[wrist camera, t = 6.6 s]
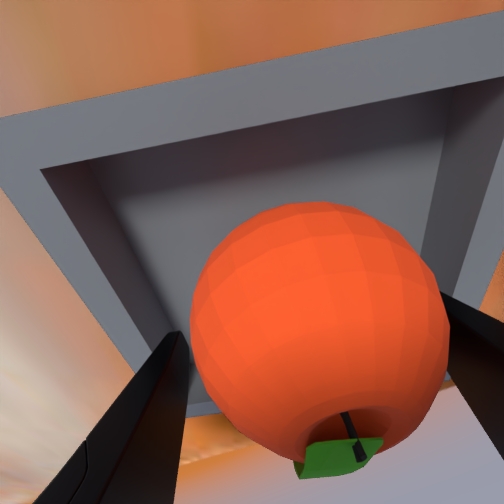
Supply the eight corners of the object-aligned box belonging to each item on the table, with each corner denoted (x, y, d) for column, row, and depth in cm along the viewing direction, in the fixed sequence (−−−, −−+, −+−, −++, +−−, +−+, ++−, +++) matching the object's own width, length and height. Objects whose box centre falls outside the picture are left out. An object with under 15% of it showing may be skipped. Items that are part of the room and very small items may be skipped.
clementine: (335, 331, 14) (424, 520, 8) (198, 332, 13) (180, 549, 7) (394, 176, 10) (672, 330, 4) (196, 162, 9) (149, 337, 3)
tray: (491, 14, 8) (611, -14, 5) (415, 330, 16) (449, 380, 13) (37, 111, 9) (-43, 126, 6) (179, 367, 16) (168, 420, 14)
